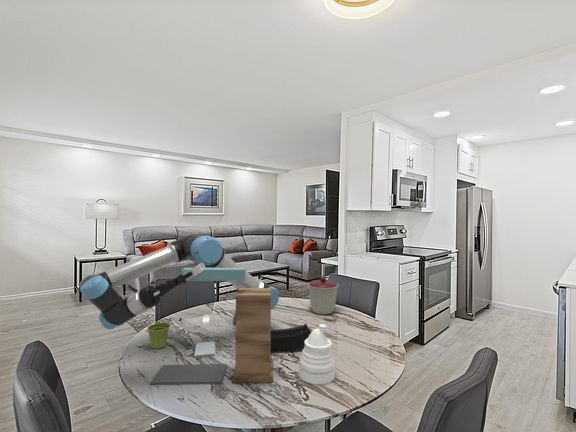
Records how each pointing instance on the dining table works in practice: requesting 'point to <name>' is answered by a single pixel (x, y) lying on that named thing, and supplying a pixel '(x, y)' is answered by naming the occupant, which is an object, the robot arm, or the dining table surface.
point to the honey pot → (317, 358)
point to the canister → (323, 295)
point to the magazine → (289, 339)
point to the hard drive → (205, 349)
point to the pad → (190, 374)
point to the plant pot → (158, 334)
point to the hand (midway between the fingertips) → (202, 266)
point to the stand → (253, 336)
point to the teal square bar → (219, 274)
